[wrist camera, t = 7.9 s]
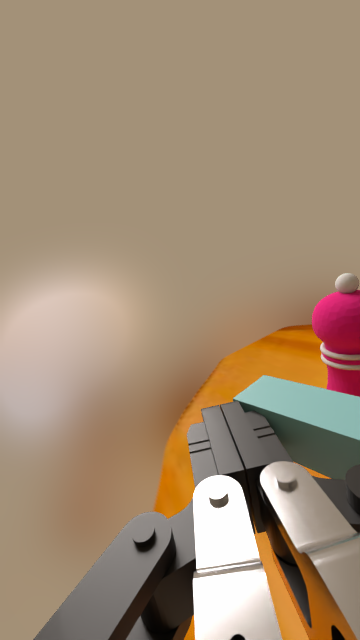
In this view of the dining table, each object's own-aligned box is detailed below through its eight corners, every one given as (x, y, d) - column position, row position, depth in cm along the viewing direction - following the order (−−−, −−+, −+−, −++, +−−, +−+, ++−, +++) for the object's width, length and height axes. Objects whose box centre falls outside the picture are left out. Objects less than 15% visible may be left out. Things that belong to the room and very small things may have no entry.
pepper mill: (353, 509, 26) (337, 287, 21) (305, 455, 33) (284, 279, 28) (424, 484, 27) (424, 265, 22) (362, 437, 34) (352, 263, 29)
